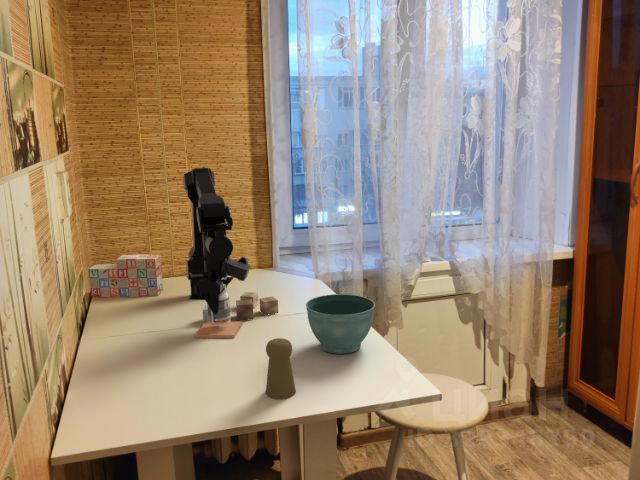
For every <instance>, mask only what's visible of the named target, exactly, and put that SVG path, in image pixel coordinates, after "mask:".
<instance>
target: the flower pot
mask: <svg viewBox="0 0 640 480" xmlns="http://www.w3.org/2000/svg"><path fill="white" fill-rule="evenodd" d="M375 307H376V303H375V302H374V301H373V300H372V299H370V298H368V297H365V296H362V295H357V294H356V295H355V294H349V293H348V294H346V293H337V294H336V293H334V294H326V295H321V296H316V297H313V298H311V299H309V300H308V301H307V302H306V304H305V308H306V312H307V320H308V323H309V326H310V329H311V332H312V333H313V335H314V337H315V339H317V341H318V342H319V343H320V344H319V345H320V348H321V349H322V350H323V351H325V352H328V353H332V354H343V355H344V354H350V353H354V352H357V351H358V350H360V348H361V347H362V342H364V340H365V339H366V338H367V336H368V335H369V332H370V330H371V328H372V325H373V321H374V315H375V313H374V312H375V309H376V308H375Z"/></svg>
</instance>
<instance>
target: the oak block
mask: <svg viewBox="0 0 640 480" xmlns="http://www.w3.org/2000/svg"><path fill="white" fill-rule="evenodd" d="M260 311H261V312H262V313H263V314H262V313H261V312H260ZM259 312H260V313H261V314H262V315H263V316H265V315H266V316H269V315H268V314H272V315H274V314H273V313H278V314H279V300H278V299H277V298H276V297H275V296H267V297H259Z"/></svg>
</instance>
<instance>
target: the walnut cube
mask: <svg viewBox="0 0 640 480" xmlns="http://www.w3.org/2000/svg"><path fill="white" fill-rule="evenodd" d="M235 309H236V310H235V311H236V321H238V322H240V321H239V320H243V321H249V320H248V319H255V317H254V310H253V301H252V299H250V300H240V299H239V300H237V299H236V300H235Z"/></svg>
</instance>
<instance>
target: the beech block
mask: <svg viewBox="0 0 640 480" xmlns="http://www.w3.org/2000/svg"><path fill="white" fill-rule="evenodd" d="M250 299H252V301H253V309H254V310H255V309H256V308H258V307H259V306H260V303H259V292H253V291H252V292H251V291H249V292H248V291H245V292H244V293H242V294H241V295H240V296H239V300H250ZM258 305H259V306H258ZM257 306H258V307H257Z"/></svg>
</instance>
